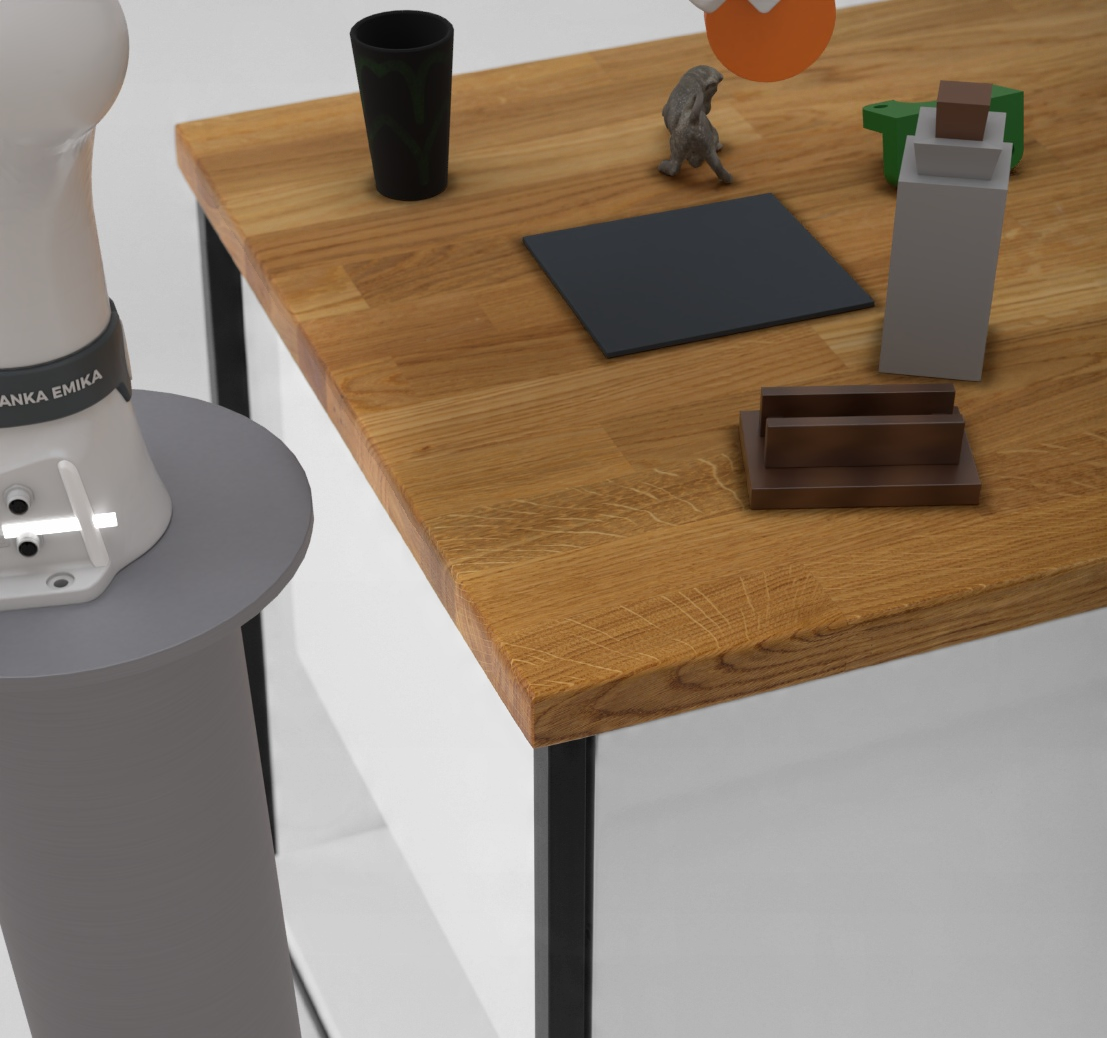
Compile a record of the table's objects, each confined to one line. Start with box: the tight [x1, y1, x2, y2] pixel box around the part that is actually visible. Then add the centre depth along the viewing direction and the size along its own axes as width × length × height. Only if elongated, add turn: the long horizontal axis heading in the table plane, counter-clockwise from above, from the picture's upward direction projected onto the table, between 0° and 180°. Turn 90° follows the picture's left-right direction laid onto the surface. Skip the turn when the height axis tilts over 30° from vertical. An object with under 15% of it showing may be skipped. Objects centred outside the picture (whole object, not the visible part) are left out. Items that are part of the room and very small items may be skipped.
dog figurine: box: [657, 64, 734, 184], centre depth 159 cm, size 12×6×7 cm, turn 178°
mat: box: [521, 192, 876, 359], centre depth 148 cm, size 20×18×1 cm
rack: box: [738, 382, 982, 510], centre depth 128 cm, size 14×9×4 cm, turn 91°
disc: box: [703, 0, 837, 83], centre depth 127 cm, size 8×2×8 cm, turn 91°
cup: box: [348, 9, 455, 201], centre depth 155 cm, size 8×8×12 cm
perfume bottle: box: [878, 79, 1013, 382], centre depth 134 cm, size 7×7×18 cm
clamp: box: [862, 83, 1025, 188], centre depth 158 cm, size 12×6×9 cm, turn 107°
